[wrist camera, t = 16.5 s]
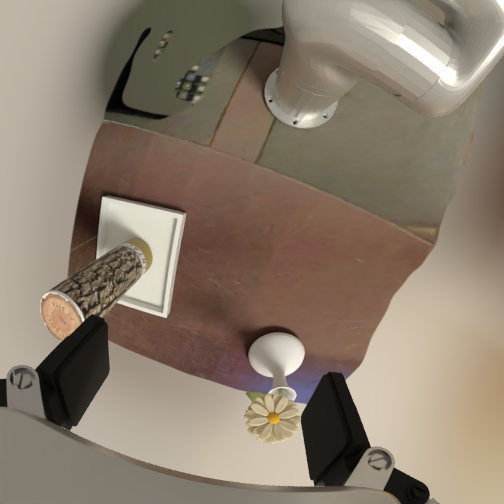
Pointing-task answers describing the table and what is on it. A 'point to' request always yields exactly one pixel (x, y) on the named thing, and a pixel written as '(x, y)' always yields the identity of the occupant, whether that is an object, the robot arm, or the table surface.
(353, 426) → the robot arm
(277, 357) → the flower in vase
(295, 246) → the table surface
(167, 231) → the tray
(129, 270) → the paper tube
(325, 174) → the table surface
